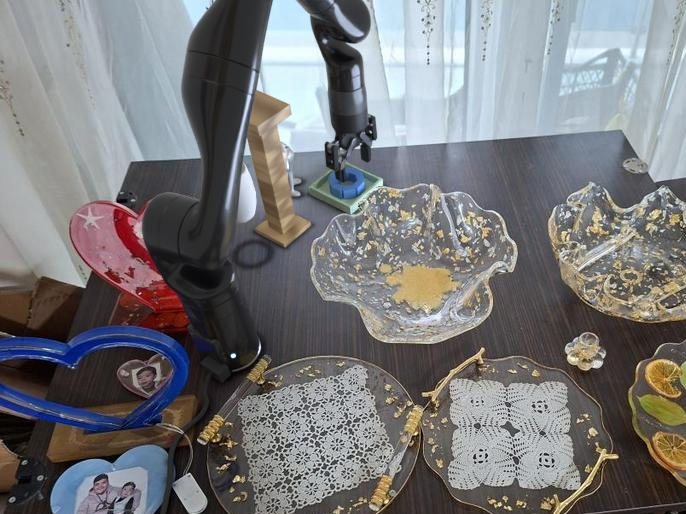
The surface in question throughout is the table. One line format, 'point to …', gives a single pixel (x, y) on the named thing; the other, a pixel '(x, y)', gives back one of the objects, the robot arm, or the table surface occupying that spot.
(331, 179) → the ring
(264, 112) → the platform
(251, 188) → the cup
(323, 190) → the tray
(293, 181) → the figurine
